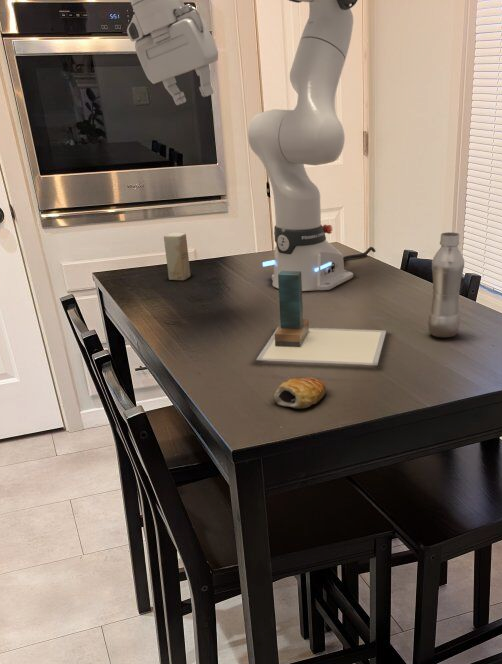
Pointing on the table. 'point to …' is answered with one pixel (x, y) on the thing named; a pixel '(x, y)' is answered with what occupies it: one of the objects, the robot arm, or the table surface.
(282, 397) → the pastry
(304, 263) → the robot arm
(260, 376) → the table surface
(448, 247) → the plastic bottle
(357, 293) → the table surface
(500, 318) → the table surface
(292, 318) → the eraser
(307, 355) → the whiteboard
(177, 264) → the box
